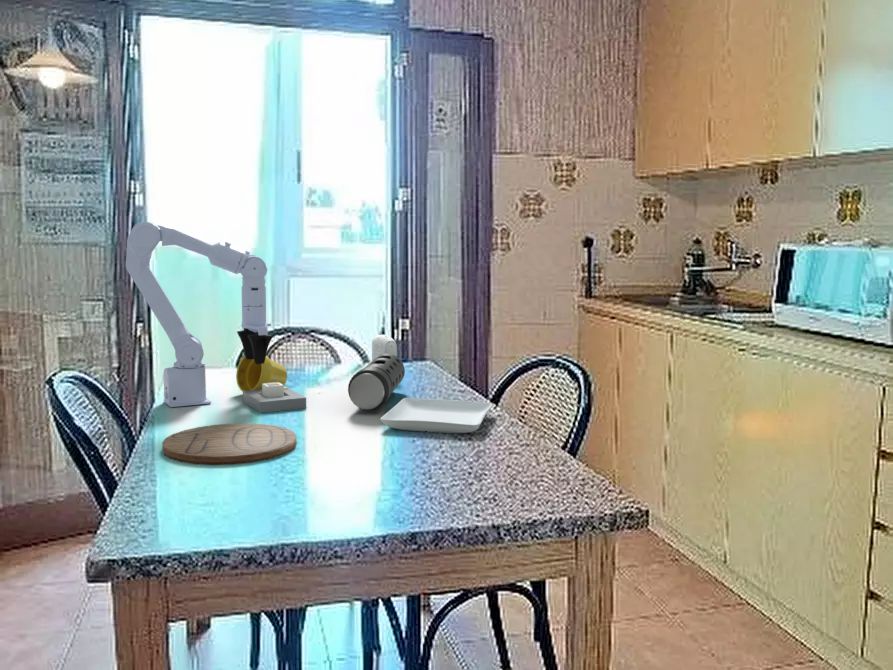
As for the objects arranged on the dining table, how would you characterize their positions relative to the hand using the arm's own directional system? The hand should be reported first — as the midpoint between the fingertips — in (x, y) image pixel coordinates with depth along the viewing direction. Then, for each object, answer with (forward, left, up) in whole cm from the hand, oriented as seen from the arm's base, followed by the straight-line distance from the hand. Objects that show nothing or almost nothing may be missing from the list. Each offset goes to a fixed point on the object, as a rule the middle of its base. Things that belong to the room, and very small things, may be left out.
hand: (255, 361), depth 201 cm
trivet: (-17, -40, -10) cm, 45 cm away
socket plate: (+2, -8, -9) cm, 13 cm away
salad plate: (+28, -42, -10) cm, 51 cm away
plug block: (+2, -8, -10) cm, 13 cm away
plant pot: (+9, +8, -6) cm, 13 cm away
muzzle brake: (+25, -17, -10) cm, 32 cm away
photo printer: (+40, +11, -10) cm, 43 cm away
